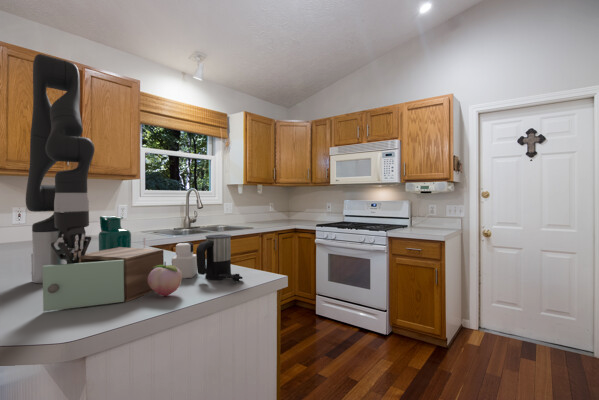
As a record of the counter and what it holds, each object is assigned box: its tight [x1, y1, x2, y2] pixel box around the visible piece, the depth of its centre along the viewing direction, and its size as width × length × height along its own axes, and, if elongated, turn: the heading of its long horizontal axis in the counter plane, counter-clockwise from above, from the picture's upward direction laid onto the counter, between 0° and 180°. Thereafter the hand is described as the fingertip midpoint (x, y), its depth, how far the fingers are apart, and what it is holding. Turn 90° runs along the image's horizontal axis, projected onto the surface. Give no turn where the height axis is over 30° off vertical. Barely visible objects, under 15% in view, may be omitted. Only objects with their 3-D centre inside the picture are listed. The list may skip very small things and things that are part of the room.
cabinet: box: [79, 247, 165, 302], centre depth 94 cm, size 18×14×12 cm
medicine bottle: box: [171, 241, 198, 279], centre depth 112 cm, size 7×7×12 cm
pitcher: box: [98, 215, 132, 251], centre depth 111 cm, size 10×8×22 cm
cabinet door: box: [42, 260, 125, 312], centre depth 80 cm, size 18×2×11 cm, turn 112°
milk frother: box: [195, 233, 244, 283], centre depth 107 cm, size 14×16×15 cm
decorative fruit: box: [148, 261, 183, 297], centre depth 89 cm, size 9×8×10 cm
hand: (73, 273), depth 83 cm, fingers closed
